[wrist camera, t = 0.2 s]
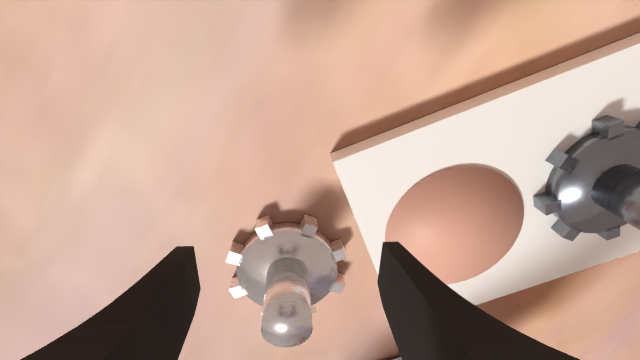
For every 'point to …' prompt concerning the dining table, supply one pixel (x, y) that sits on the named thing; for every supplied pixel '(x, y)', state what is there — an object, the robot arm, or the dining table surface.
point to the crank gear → (595, 182)
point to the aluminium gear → (286, 275)
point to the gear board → (492, 177)
